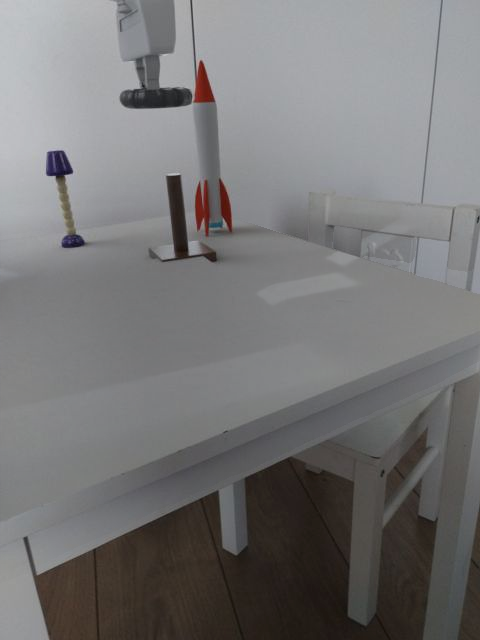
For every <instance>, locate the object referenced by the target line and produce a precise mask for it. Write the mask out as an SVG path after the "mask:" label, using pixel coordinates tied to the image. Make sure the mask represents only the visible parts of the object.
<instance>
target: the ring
mask: <svg viewBox="0 0 480 640" xmlns="http://www.w3.org/2000/svg"><path fill="white" fill-rule="evenodd" d="M194 94H195V92H194V90H193V89H191V88H190V87H185V86H169V87H167V86H165V87H160V89H152V90H146V88H142V89H140V88H130V89H123V90H122V91H121V93H120V94H119V98H118V100H119V103H120V104H121V105H122V106H123V107H124V108H125V109H131V110H151V109H152V110H153V109H169V108H170V109H171V108H181V107H187V106H190V105H193V101H194Z"/></svg>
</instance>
